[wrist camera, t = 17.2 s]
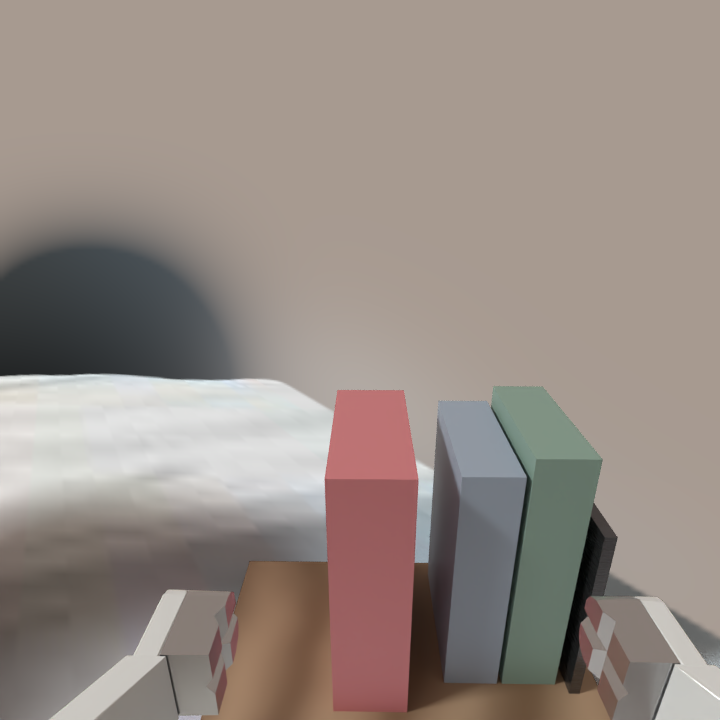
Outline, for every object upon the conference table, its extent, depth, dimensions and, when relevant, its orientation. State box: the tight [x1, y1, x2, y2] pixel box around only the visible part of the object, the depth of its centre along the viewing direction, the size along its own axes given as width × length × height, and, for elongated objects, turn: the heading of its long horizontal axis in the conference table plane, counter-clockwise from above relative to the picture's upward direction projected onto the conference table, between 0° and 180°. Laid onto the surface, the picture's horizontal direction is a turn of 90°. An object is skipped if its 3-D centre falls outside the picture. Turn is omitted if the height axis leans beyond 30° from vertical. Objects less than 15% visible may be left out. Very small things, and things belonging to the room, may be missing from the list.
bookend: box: [559, 503, 617, 694], centre depth 29 cm, size 1×9×11 cm, turn 179°
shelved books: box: [428, 386, 602, 685], centre depth 28 cm, size 6×8×15 cm
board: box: [201, 561, 610, 720], centre depth 30 cm, size 22×12×2 cm, turn 89°
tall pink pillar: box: [325, 390, 418, 712], centre depth 27 cm, size 4×9×15 cm, turn 179°
